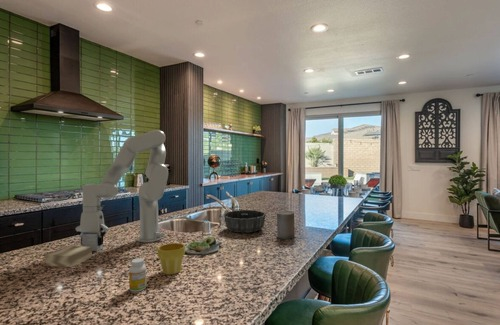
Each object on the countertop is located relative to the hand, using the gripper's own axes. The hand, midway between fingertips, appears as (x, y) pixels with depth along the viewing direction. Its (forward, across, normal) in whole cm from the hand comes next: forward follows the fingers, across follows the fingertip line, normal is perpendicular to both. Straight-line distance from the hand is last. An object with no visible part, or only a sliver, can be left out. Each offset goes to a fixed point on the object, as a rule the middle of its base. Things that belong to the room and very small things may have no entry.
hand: (92, 244), depth 136 cm
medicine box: (+3, 0, 0) cm, 3 cm away
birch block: (+3, 0, +15) cm, 15 cm away
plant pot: (+3, -49, +22) cm, 54 cm away
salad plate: (+3, -54, -6) cm, 55 cm away
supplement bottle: (+3, -43, +37) cm, 57 cm away
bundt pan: (+3, -70, -44) cm, 83 cm away
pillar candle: (+3, -95, -30) cm, 100 cm away
